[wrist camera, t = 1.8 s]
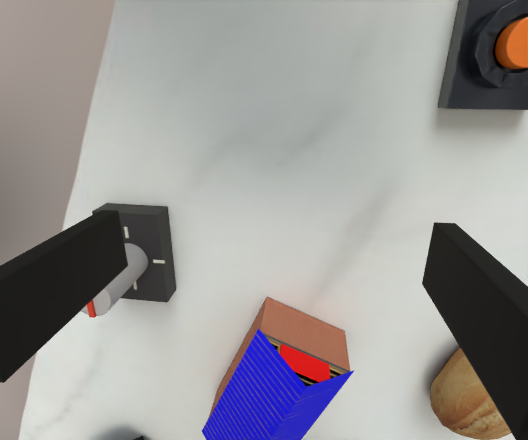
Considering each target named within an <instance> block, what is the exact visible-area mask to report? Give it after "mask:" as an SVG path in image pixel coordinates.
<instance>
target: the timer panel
mask: <svg viewBox="0 0 528 440" xmlns="http://www.w3.org/2000/svg"><path fill="white" fill-rule="evenodd" d="M101 210H118V212H119V217H120V223H121V228H122V234H123V239H124V243H131V244H134V245H136V246H138V247H140V248H141V249H142V250H143V251H144V252H145V254H146V256H147V258H148V267H147V269H146V270H145V272H144V273H143V274H142V275H141V276H140V277H139V278H138V279H137V280H136V281H135V282H134V283H133V285H132V286H131V287H130V288H129V289H128V290H127V291H126V292H125V293H124V294H123V295H122V296H121V298H125V299H136V300H146V301H157V302H168V301H169V299H170V298H171V296H172V295H173V293H174V292H175V290H176V284H175V274H174V265H173V255H172V246H171V237H170V227H169V218H168V208H167V207H162V206H145V205H127V204H109V203H107V204H105V205H103V206H101V207H99V208H97V209H96V210H94V211H92V213H93V215H94V214H95V213H97V212H99V211H101Z"/></svg>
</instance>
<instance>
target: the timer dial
mask: <svg viewBox="0 0 528 440" xmlns="http://www.w3.org/2000/svg"><path fill="white" fill-rule="evenodd" d="M124 245H125V250H126V256H127V261H128V267H126V268H125V269H124V270H123V271H122V272H121V273H120V274H119V275H118V276H117V277H116V278H115V279H114V280H113V281H112V282H111V283H109V284H108V285H107V286H106V287H105V288H104V289H103V290H102V291H101V292H100V293H99V294H98V295H97V296H96V297H95V298H93V299H92V300H91V301H90V302H89V303H88V304H87V305H86V306H85V307H84V308H83V309H82V310H81V311H82V312H84V313H86V314H88V315H89V317H96V316H100V315H103V314H105V313H107V312H108V311H109V310H110V308H111V307H112V306H113V305H114V304H115V303H116V302H117V301H118V300H119V299H120V298H121V296H122V295H123V294H124V293H125V292H126V291H127V290H128V289H129V288H130V287H131V286H132V285H133V283H134V282H135V281H136V280H137V279H138V278H139V277H140V276H141V275H142V274H143V273H144V272H145V270H146V269H147V267H148V258H147V256H146V254H145V252H144V251H143V250H142V249H141V248H140V247H138V246H136V245H134V244H131V243H124Z"/></svg>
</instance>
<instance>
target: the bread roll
mask: <svg viewBox="0 0 528 440" xmlns="http://www.w3.org/2000/svg"><path fill="white" fill-rule="evenodd" d="M430 400H431V406H432V409H433V411H434V413H435V414H436V416H437V417H438V419H439V420H440V422H441V423H442V425H443V426H446V427H447V428H449V429H450V430H451V431H453V432H455V433H457V434H460V435H463V436H466V437H470V438H474V439H480V440H490V439H498V438H501V437H503V436H506V435H508V434H510V433H512V432H511V431H510V429H509V427H508V426H507V424H506V422H505V421H504V419H503V417H502V416H501V414H500V412H499V411H498V409H497V407H496V406H495V404H494V402H493V401H492V399H491V397H490V396H489V394H488V392H487V391H486V389H485V387H484V386H483V384H482V382H481V381H480V379H479V377H478V376H477V374H476V372H475V371H474V369H473V367H472V366H471V364H470V362H469V361H468V359H467V357H466V356H465V354H464V352H463V351H462V349H461V348H459V349H458V350H457V351H456V353H455V354H454V355H453V356H452V357H451V358H450V360H449V361H448V362H447V363H446V364H445V366H444V368H443V369H442V370H441V372H440V373H439V374H438V376H437V377H436V379H435V380H434V381H433V383H432V386H431V392H430Z"/></svg>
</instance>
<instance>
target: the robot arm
mask: <svg viewBox="0 0 528 440" xmlns="http://www.w3.org/2000/svg"><path fill="white" fill-rule="evenodd" d="M126 267H128V261H127V256H126V250H125V245H124V239H123V234H122V228H121V223H120V217H119V212H118V210H101V211H99V212H97V213H95V214H94V215H92V216H90V217H88V218H86V219H85V220H83V221H81V222H79V223H77V224H75V225H74V226H72V227H70V228H68V229H66V230H65V231H63V232H61V233H59V234H57V235H55V236H54V237H52V238H50V239H48V240H46V241H45V242H43V243H41V244H39V245H37V246H35V247H34V248H32V249H30V250H28V251H26V252H25V253H23V254H21V255H19V256H17V257H15V258H14V259H12V260H10V261H8V262H6V263H5V264H3V265H1V266H0V382H3V383H4V382H5V381H6V380H7V379H8V378H9V377H10V376H12V375H13V374H14V373H15V372H16V371H17V370H18V369H19V368H20V367H21V366H22V365H23V364H24V363H25V362H26V361H27V360H29V359H30V358H31V357H32V356H33V355H34V354H35V353H36V352H37V351H38V350H39V349H40V348H41V347H42V346H43V345H45V344H46V343H47V342H48V341H49V340H50V339H51V338H52V337H53V336H54V335H55V334H56V333H57V332H58V331H59V330H60V329H62V328H63V327H64V326H65V325H66V324H67V323H68V322H69V321H70V320H71V319H72V318H73V317H74V316H75V315H76V314H78V313H79V312H80V311H81V310H82V309H83V308H84V307H85V306H86V305H87V304H88V303H89V302H90V301H91V300H92V299H93V298H95V297H96V296H97V295H98V294H99V293H100V292H101V291H102V290H103V289H104V288H105V287H106V286H107V285H108V284H109V283H111V282H112V281H113V280H114V279H115V278H116V277H117V276H118V275H119V274H120V273H121V272H122V271H123V270H124V269H125V268H126ZM422 284H423V286H424V288H425V289H426V291H427V293H428V294H429V296H430V298H431V299H432V301H433V303H434V304H435V306H436V308H437V309H438V311H439V313H440V314H441V316H442V318H443V319H444V321H445V323H446V324H447V326H448V328H449V329H450V331H451V333H452V334H453V336H454V338H455V339H456V341H457V343H458V344H459V346H460V348H461V349H462V351H463V352H464V354H465V356H466V357H467V359H468V361H469V362H470V364H471V366H472V367H473V369H474V371H475V372H476V374H477V376H478V377H479V379H480V381H481V382H482V384H483V386H484V387H485V389H486V391H487V392H488V394H489V396H490V397H491V399H492V401H493V402H494V404H495V406H496V407H497V409H498V411H499V412H500V414H501V416H502V417H503V419H504V421H505V422H506V424H507V426H508V427H509V429H510V431H511V432H512V434H513V436H514V437H515V439H516V440H528V286H526V285H525V284H524V283H523V282H522V281H521V280H520V279H518V278H517V277H516V276H515V275H514V274H513V273H511V272H510V271H509V270H508V269H507V268H506V267H505V266H503V265H502V264H501V263H500V262H499V261H498V260H497V259H495V258H494V257H493V256H492V255H491V254H490V253H489V252H487V251H486V250H485V249H484V248H483V247H482V246H481V245H479V244H478V243H477V242H476V241H475V240H474V239H473V238H471V237H470V236H469V235H468V234H467V233H466V232H464V231H463V230H462V229H461V228H460V227H459V226H458V225H456V224H455V223H434V226H433V231H432V236H431V241H430V246H429V251H428V257H427V262H426V267H425V272H424V277H423V282H422Z"/></svg>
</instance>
